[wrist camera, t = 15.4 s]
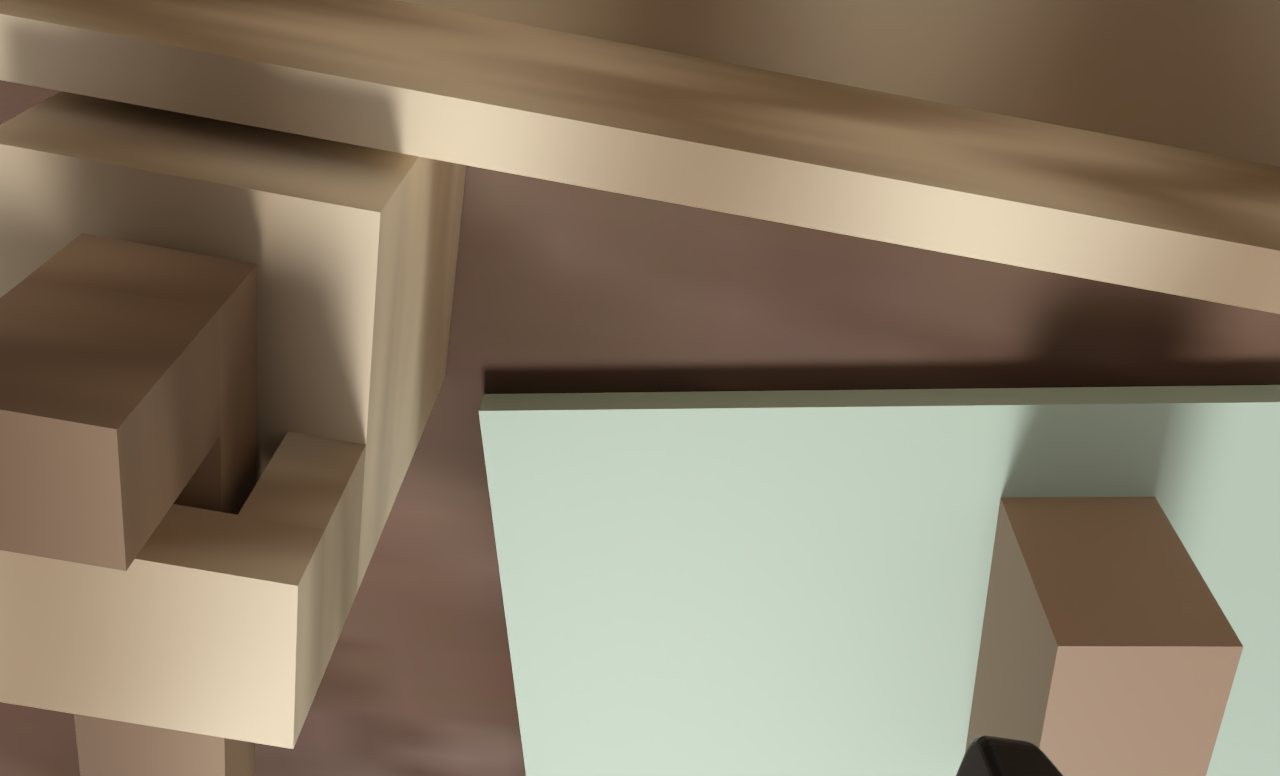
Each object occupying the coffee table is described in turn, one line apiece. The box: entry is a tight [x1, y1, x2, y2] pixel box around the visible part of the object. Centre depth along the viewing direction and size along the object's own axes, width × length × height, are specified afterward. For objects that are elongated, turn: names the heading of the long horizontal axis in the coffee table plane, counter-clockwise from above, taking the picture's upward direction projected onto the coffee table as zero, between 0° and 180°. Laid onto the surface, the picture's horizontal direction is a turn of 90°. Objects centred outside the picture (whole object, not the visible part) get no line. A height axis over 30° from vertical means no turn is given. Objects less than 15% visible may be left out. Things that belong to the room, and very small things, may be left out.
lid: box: [479, 385, 1280, 776], centre depth 22 cm, size 22×11×5 cm, turn 92°
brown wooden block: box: [0, 233, 257, 776], centre depth 14 cm, size 2×8×4 cm, turn 170°
